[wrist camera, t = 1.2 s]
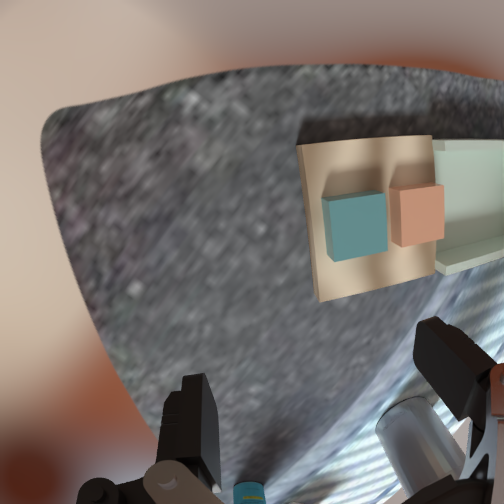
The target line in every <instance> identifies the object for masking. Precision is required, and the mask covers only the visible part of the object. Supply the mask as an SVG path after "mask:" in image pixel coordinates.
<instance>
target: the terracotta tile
mask: <svg viewBox="0 0 504 504" xmlns="http://www.w3.org/2000/svg"><path fill="white" fill-rule="evenodd" d="M389 203H390V222H391V242H393V243H395V244H396V245H398V246H400V247H401V248H403V247H407V246H412V245H416V244H421V243H425V242H430V241H434V240H439V239H443V238H444V224H445V207H444V185H441V184H437V183H433V182H429V183H421V184H413V185H405V186H397V187H389Z"/></svg>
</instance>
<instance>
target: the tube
mask: <svg viewBox="0 0 504 504" xmlns="http://www.w3.org/2000/svg"><path fill="white" fill-rule="evenodd" d="M233 499H234V504H266V500H265V494H264V489H263V485H262V484H260V483H257V482H242V483H239V484H237V485H235V486H234V489H233Z"/></svg>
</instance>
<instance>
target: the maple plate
mask: <svg viewBox="0 0 504 504" xmlns="http://www.w3.org/2000/svg"><path fill="white" fill-rule="evenodd" d="M296 150H297V156H298V163H299V170H300V177H301V184H302V191H303V199H304V207H305V214H306V222H307V231H308V239H309V248H310V257H311V267H312V277H313V287H314V294H315V295H316V297H317V299H318V300H319V302H324V301H328V300H333V299H337V298H341V297H346V296H350V295H354V294H358V293H362V292H366V291H371V290H375V289H379V288H383V287H386V286H390V285H394V284H398V283H402V282H406V281H409V280H413V279H417V278H420V277H424V276H428V275H431V274H435V260H436V240H434V241H430V242H425V243H421V244H416V245H412V246H407V247H403V248H401V247H400V246H398V245H396V244H395V243H393V242H391V222H390V203H389V187H397V186H405V185H413V184H421V183H429V182H433V183H436V180H435V164H434V152H433V145H432V135H411V136H391V137H375V138H362V139H350V140H340V141H330V142H321V143H312V144H304V145H296ZM369 190H377V191H380V192H383V193H385V198H386V214H387V238H388V251H385V252H381V253H376V254H371V255H367V256H362V257H357V258H352V259H348V260H343V261H338V262H334V261H333V260H332V259H331V258H330V257H329V256H328V255H327V251H326V240H325V230H324V220H323V211H322V202H321V198H322V197H329V196H335V195H342V194H348V193H355V192H362V191H369Z"/></svg>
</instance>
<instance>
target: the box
mask: <svg viewBox="0 0 504 504" xmlns="http://www.w3.org/2000/svg"><path fill="white" fill-rule="evenodd" d="M432 145H433V152H434V164H435V180H436V183H437V184H441V185H444V207H445V224H444V238H443V239H439V240H436V260H435V269H436V270H438V271H439V272H441V273H442V274H444V275H445V276H447V275H450V274H453V273H457V272H460V271H463V270H466V269H469V268H473V267H476V266H479V265H482V264H485V263H488V262H491V261H494V260H497V259H500V258H503V257H504V139H432Z"/></svg>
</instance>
